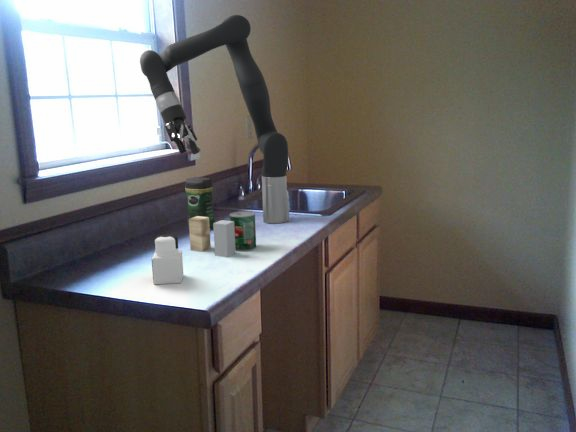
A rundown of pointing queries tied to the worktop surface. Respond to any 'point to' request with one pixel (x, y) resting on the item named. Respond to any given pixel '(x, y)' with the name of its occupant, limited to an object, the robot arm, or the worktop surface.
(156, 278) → the medicine bottle
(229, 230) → the grey block
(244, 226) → the canned tomato
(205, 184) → the coffee jar
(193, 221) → the maple block
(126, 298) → the worktop surface
